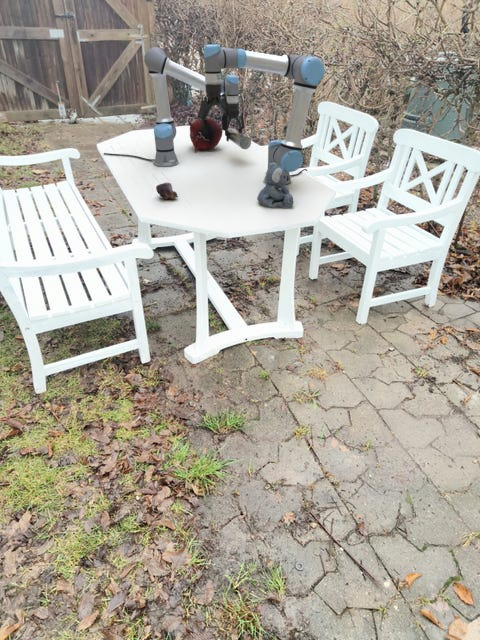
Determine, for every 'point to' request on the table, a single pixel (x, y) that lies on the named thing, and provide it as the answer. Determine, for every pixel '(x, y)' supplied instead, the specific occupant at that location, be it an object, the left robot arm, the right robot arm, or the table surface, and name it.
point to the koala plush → (275, 189)
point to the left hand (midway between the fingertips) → (233, 140)
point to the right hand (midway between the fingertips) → (215, 131)
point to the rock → (166, 191)
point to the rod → (239, 138)
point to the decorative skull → (205, 140)
